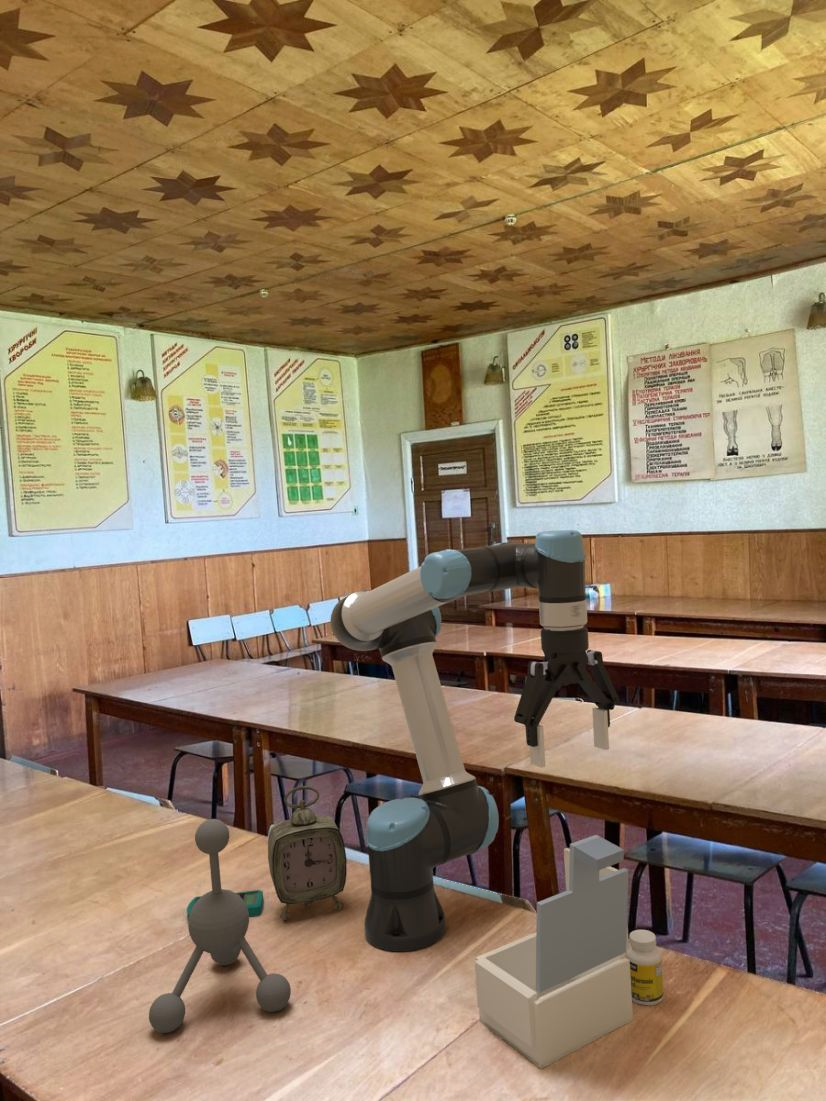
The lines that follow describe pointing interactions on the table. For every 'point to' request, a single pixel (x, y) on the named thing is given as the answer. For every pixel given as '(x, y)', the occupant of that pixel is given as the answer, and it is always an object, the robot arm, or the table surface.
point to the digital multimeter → (250, 898)
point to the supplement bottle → (645, 968)
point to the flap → (583, 915)
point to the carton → (550, 999)
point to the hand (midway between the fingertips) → (570, 756)
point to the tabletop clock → (306, 857)
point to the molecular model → (217, 938)
